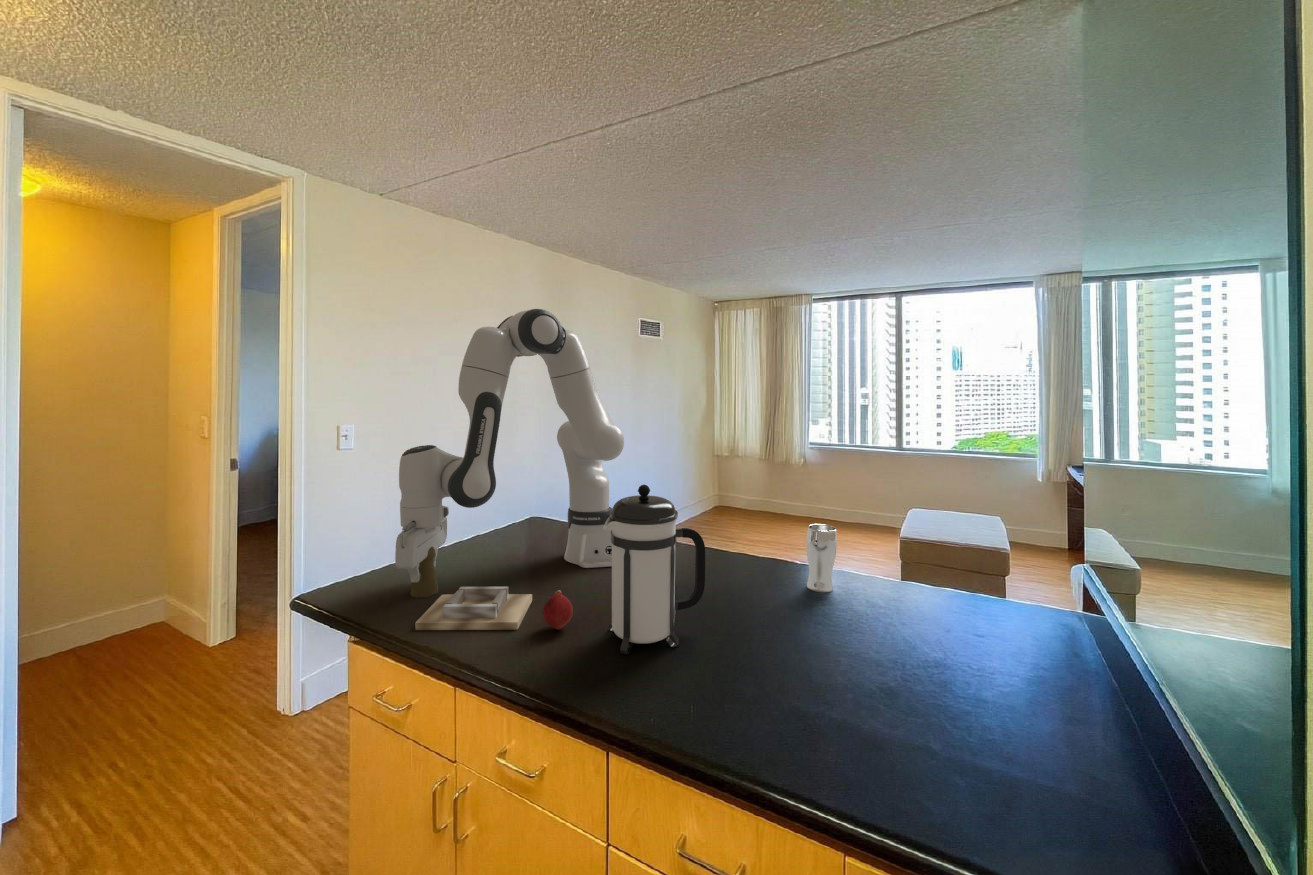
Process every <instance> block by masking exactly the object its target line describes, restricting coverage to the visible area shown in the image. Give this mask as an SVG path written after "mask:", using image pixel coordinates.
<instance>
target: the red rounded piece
mask: <svg viewBox="0 0 1313 875" xmlns="http://www.w3.org/2000/svg"><path fill="white" fill-rule="evenodd" d="M562 593H563V592H562V590H561V589H560V590H557V591H555V593H554V594H553V595H551V596H550V597H549V598H548V599H547V600H546V601H545V604H544V606H543V609H542V618H543V620H544V622H545V623H546V624H547V625H548V626H549V627H551V628H553V629H556V630H557V631H559V630H561V629H563V628H564V627H565V626H566V625H567V624H568V623H569V622H570V621H571V620H572V617H573V612H574V608H573V604H572V603H571V601H570V599H568V597H566V596H565V595H564V594H562Z"/></svg>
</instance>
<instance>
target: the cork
mask: <svg viewBox="0 0 1313 875" xmlns="http://www.w3.org/2000/svg"><path fill="white" fill-rule="evenodd" d="M434 557H435V549H434V547H431V548H430V549H429V550H428V555H427V558H425V559H424V560H423V561H422V562H420V563H419V567H418V569H419V572H421V580H419V581H418V582H411V583H410V584H411V585H410V594H409V596H411V597H413V598H417V599H418V598H427V597H431V596H434V595H436V594H438V592H439V585H438V581H437V576H436V574H437V573H436V570H435V568H436V567H434V563H433V559H434Z"/></svg>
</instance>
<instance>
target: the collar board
mask: <svg viewBox="0 0 1313 875" xmlns="http://www.w3.org/2000/svg"><path fill="white" fill-rule="evenodd" d="M532 602H533V594H531V593H527V594H526V593H521V594H520V593H516V594H515V593H509V586H460V587H459V588H458V589H457V590H456V592H454V594H453V593H452V594H448V593H447V594H441V595H440V596H439V597H438V598H437V599H436V600H435V601H434V603H433V604H431V606H429V608H428V609H427V610H426V611H425V612H424V613H423V614H422V615H421V616H420V617H419V618H418V619H417V620H416V621H415V622H414V626H415V631H468V630H469V631H474V630H475V631H476V630H477V631H482V630H483V631H486V630H488V631H490V630H491V631H492V630H493V631H495V630H497V631H498V630H499V631H500V630H501V631H502V630H503V631H504V630H506V631H508V630H510V631H511V630H518V629H519V628H520V626H521V624H522V622H523V620H524V618H525V616H526V613H527V612H528V610H529V608H530V605H531V603H532Z"/></svg>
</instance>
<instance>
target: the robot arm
mask: <svg viewBox="0 0 1313 875" xmlns="http://www.w3.org/2000/svg"><path fill="white" fill-rule="evenodd" d="M537 355H538V356H540V358H541V359H542V360H543V361H544V363H545V366H546V368H547V372H548V375H549V379H550V383H551V386H552V389H553V393H554V396H555V399H556V402H557V405H558V407H559V409H561V410H562V411H563V413H564V414H565V416H566V418H567V419H568V421H566V422H563V423H562V424H561V425H560V426H559V429H558V430H557V434H556V442H557V444H558V446H559V447H560V449H561V451H562V454H563V458H564V463H565V467H566V472H567V477H568V484H569V485H568V486H569V488H568V490H569V492H568V493H569V494H568V495H569V497H568V499H569V508H568V509H567V528H568V534H567V535H568V537H567V542H566V543H567V544H566V549H565V553H564V556H563V559H564V560H565V561H566V562H569V563H571V564H574V565H578V566H579V567H581V568H583V569H584V568H585V569H590V568H606V567H612V543H611V530H603V527H604V524H605V522H606V521H607V519H608V517H609V516H610V511H611V510H612V509H613V507H611V506H610V481H609V477H608V476H607V474H606V473H605V470H604V467H603V463H604V462H608V461H613V460H615V459H617V458H618V457H619V456H620V455H621V454H622V451H623V450H624V446H625V437H624V434H623V432H622V431H621V429H620V428H619V427H618V426H617V425H616V424H615V423H614V422H613V420H612V419H611V417H610V415H609V414H608V412H607V409H606V408H605V406H604V404H603V403H602V402H603V401H602V400H601V398H600V395H599V394H598V390H597V386H596V383H595V380H594V377H593V373H592V369H591V366H590V362H589V358H588V356H587V354H586V351H585V349H584V346H583V343H582V342H581V340H580V337H579V336H578V334H576V332H574V331H573V330H572V331H571V330H568V329H565V328H564V327H563V326H562V324H561V323H560V321H559V319H558V318H557V317H556V316H555V315H554V314H553V313H552V312H550V311H548V310H546V309H542V308H532V309H528V310H522V311H519V312H517V313H515V314H514V315H510V316H509V317H506V318H505V319H504V320H502V321H501V323H500V324H499V325H498V326H497V327H495V326H482V327H480V328H478V329H476V330H475V332H474V333H473V334H472V336H471V339H470V341H469V343H468V346H467V348H466V351H465V354H464V356H463V359H462V364H461V367H460V372H459V377H458V388H457V389H458V391H457V392H458V396H459V399H460V400H461V401H462V403H463V404H464V406H465V409H466V410H467V413H468V417H469V426H468V427H469V428H468V433H467V438H466V442H465V443H466V444H465V449H464V454H463V457H462V456H457V455H455V454H451V453H449V452H446V451H444V450H443V449H441V448H440V447H437V446H436V445H433V444H426V445H419V446H414V447H411V448H407V450H405V451H404V452H403V453H402V454H401V456H400V460H399V469H398V486H399V489H400V493H401V496H400V497H401V499H400V501H399V515H400V517H399V518H400V520H399V521H400V526H401V527H402V528H401V529H402V530H401V532H400V533H399V534H398V535H397V537H396V542H395V552H394V553H395V554H394V556H395V557H394V561H395V562H394V564H395V567H396V569H398V570H407V571H408V574H409V577H410V578H409V579H410V582H411V583H412V582H418V581H419V580H421V572H419V569H418V567H419V563H420V562H422V561H423V560H424V559H425V558H427V555H428V550H429V549H430V548H431V547H434V549H435V557H434V559H433V563H434V568H436V562H437V561H436V560H437V556H438V551H439V548H440V547H441V546H443V545H444V544H445V543H446V541H447V537H448V516H449V515H450V514H449V513H450V511H449V510H450V509H449V507H448V506H444V505H443V499H444V498H451V499H452V500H453V502H455V503H456V504H457V505H459V506H461V507H463V508H469V509H474V508H478V507H480V506H481V507H482V505H484V504H486V503H488V501H489V500H490V499H491V498H492V497H493V495H494V494H495V491H496V486H497V478H496V472H495V464H494V462H495V453H496V449H497V448H496V446H497V442H498V437H499V431H500V430H499V428H500V425H501V424H500V423H501V415H502V409H503V402H504V398H505V393H506V390H507V385H508V382H509V377H510V373H511V366H512V365H513V362H514V361H515V359H516V358H519V357H533V356H537ZM602 462H603V463H602Z"/></svg>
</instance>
